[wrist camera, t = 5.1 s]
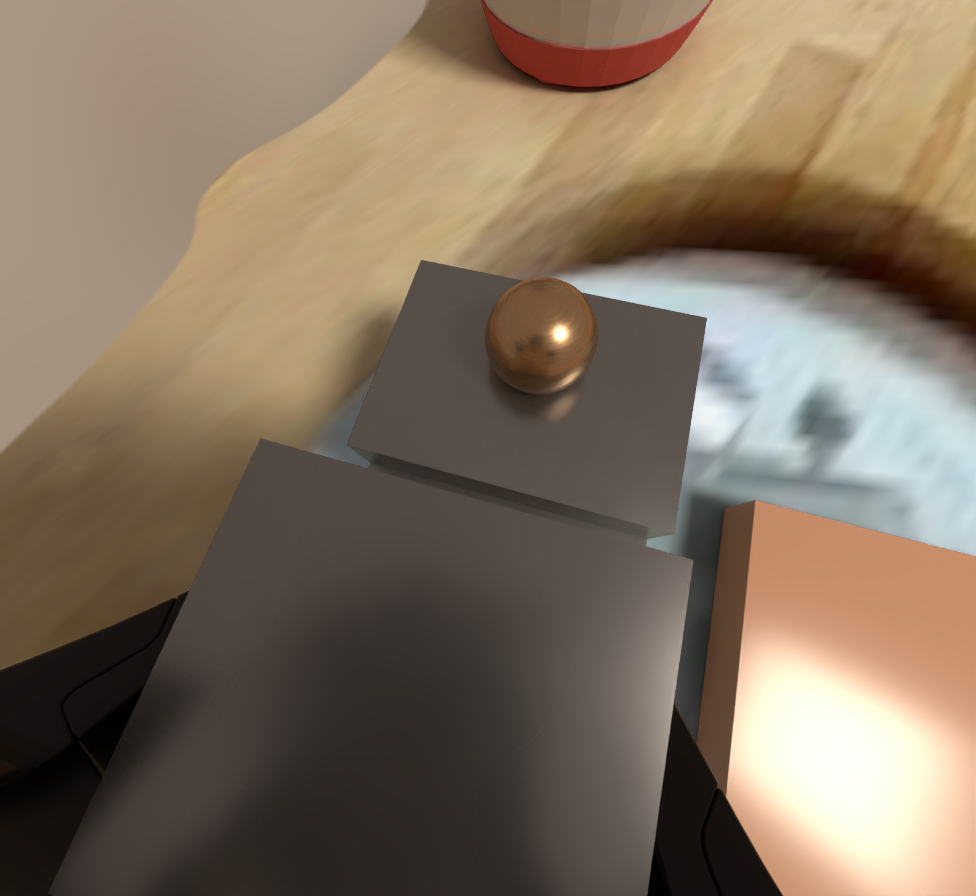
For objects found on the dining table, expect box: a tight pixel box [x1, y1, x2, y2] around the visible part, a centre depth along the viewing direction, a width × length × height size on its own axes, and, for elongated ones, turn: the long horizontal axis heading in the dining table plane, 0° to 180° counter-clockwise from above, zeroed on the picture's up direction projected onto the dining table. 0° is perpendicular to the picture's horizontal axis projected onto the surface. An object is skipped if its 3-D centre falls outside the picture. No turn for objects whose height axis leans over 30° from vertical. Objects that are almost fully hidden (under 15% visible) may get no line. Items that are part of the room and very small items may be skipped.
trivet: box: [696, 500, 976, 896], centre depth 12 cm, size 14×14×2 cm
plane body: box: [347, 260, 707, 546], centre depth 11 cm, size 20×9×8 cm, turn 164°
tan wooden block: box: [48, 439, 693, 896], centre depth 8 cm, size 4×5×8 cm
